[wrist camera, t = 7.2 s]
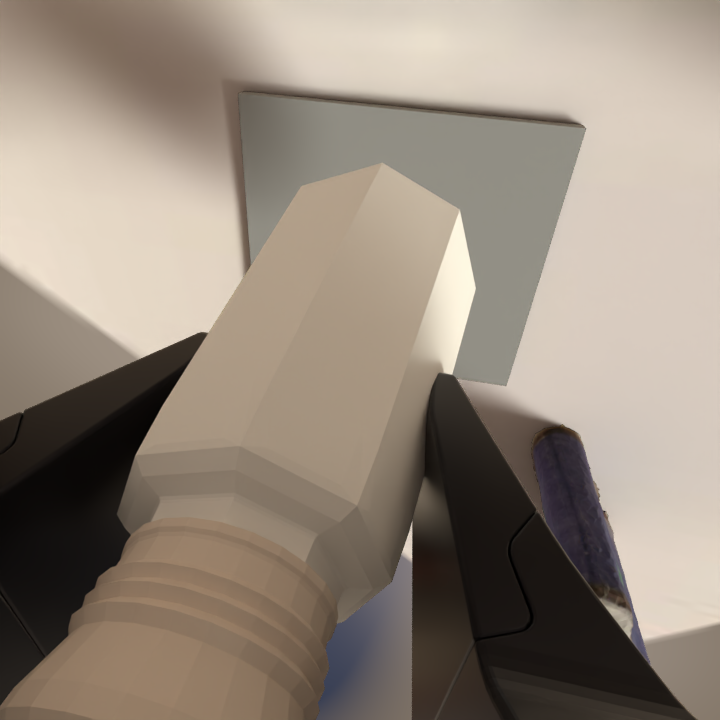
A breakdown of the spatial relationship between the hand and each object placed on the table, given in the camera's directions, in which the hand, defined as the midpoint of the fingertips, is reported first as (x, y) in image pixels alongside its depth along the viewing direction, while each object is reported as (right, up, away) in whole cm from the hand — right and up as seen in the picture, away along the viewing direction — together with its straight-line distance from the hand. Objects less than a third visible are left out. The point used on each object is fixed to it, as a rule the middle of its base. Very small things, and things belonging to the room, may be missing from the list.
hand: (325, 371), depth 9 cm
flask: (+12, -6, +17) cm, 22 cm away
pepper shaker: (+1, +3, +4) cm, 5 cm away
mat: (+2, +5, +11) cm, 12 cm away
